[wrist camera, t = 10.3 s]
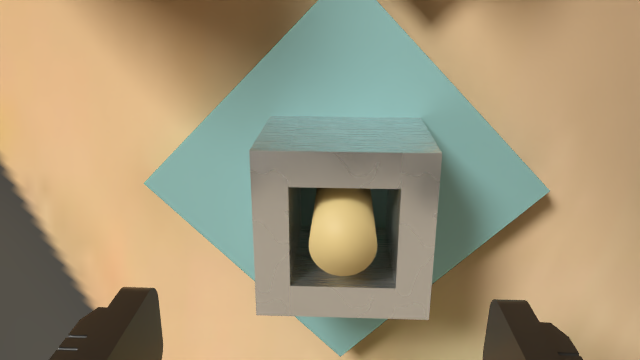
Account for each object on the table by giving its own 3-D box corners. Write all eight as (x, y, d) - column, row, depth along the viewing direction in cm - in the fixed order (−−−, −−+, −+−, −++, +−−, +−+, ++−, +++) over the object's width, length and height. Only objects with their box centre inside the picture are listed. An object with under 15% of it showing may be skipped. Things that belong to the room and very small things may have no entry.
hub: (155, 172, 24) (83, 239, 18) (347, -30, 21) (348, -40, 14) (340, 337, 27) (339, 451, 20) (537, 179, 23) (612, 252, 17)
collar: (270, 116, 21) (249, 150, 17) (421, 117, 21) (442, 153, 17) (274, 250, 23) (256, 315, 19) (412, 253, 23) (428, 319, 19)
